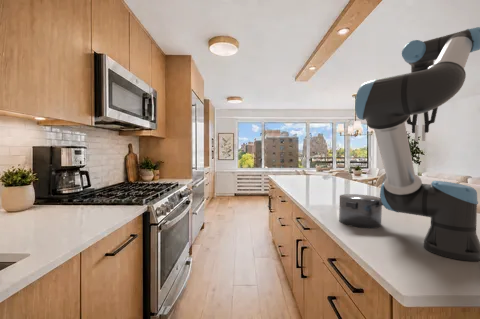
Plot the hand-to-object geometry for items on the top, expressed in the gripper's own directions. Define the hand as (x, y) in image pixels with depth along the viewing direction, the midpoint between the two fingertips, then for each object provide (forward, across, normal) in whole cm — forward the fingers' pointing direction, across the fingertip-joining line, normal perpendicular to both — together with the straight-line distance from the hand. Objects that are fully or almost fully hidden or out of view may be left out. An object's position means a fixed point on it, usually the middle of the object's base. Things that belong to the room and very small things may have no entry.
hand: (419, 140), depth 102 cm
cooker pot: (+38, +22, +3) cm, 44 cm away
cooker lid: (+17, +10, +3) cm, 20 cm away
